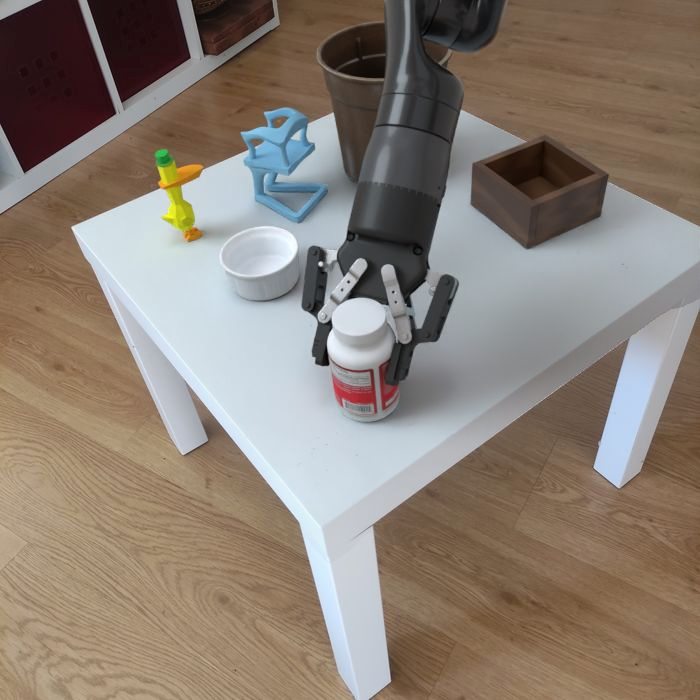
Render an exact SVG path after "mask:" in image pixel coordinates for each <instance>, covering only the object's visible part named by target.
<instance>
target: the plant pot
mask: <svg viewBox="0 0 700 700" xmlns="http://www.w3.org/2000/svg"><path fill="white" fill-rule="evenodd" d="M423 42H424V46H425V49H426V51H427V53H428V54H429V56H430V57H431V58H432V59H433V60H435V61H436V62H437V63H439V64H440V65H442V66H443V67H445V68H446V69H448V64H449V60H450V59H451V57H452V56H453V51H454V50H451V49H448V48H446V47H442V46H439V45H436V44H433V43H430V42H428V41H425V40H423ZM316 59H317V63H318V65H319V66H320V68H321V69H322V73H323V77H324V78H323V79H324V82H325V83H324V84H325V87H326V90H327V92H328V93H329V95H330V96H329V97H330V100H331V107H332V111H333V117H334V122H335V127H336V131H337V138H338V144H339V149H340V154H341V159H342V165H343V170H344V172H345V174H346V176H347V177H348V178H349V179H350V180H352V181H353V182H354V183H357V184H358V181H359V176H360V172H361V168H362V164H363V159H364V156H365V152H366V149H367V146H368V144H369V141H370V139H371V136H372V133H373V129H374V124H375V120H376V116H377V111H378V107H379V103H380V99H381V94H382V90H383V84H384V77H385V61H386V39H385V21H384V20H376V21H367V22H363V23H357V24H354V25H350V26H347V27H345V28H342V29H340V30H338V31H336V32H334V33H332V34H331V35H329V36H327V37H326V38H325V39H324V40H323V41H322V42H321V43H320V45H319V46H318V47H317V49H316Z"/></svg>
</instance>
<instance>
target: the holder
mask: <svg viewBox="0 0 700 700" xmlns="http://www.w3.org/2000/svg"><path fill="white" fill-rule="evenodd" d="M609 177H610V173H608V172H606V171H605V170H603V169H602V168H600V167H598V166H597V165H595V164H593V162H591V161H589V160H587V159H586V158H585V157H582V156H581V155H580V154H578V153H576V152H575V151H573V150H571V149H570V148H568V147H566V146H565V145H563V144H562V143H560V142H559V141H557V140H555V138H553V137H550V136H549V135H548V134H543V135H541V136H539V137H536V138H533V139H531V140H528V141H526V142H523V143H521V144H518V145H515V146H513V147H510V148H508V149H505V150H503V151H499V152H498V153H495V154H493V155H490V156H488V157H485V158H482V159H480V160H477V161H475V162H472V163H471V182H470V183H471V186H470V205H471V206H472V207H473V208H475V209H476V210H477V211H478V212H480V213H481V215H484V216H485V217H486V218H487V219H488V220H490V221H491V222H492V223H493V224H494V225H495V226H497V227H498V228H499V229H501V230H502V231H504V233H505V234H507V235H508V236H509V237H511V238H512V239H513V240H514V241H515V242H516V243H518V244H519V245H520V246H522V248H524V249H526V250H528V249H530V248H533V247H535V246H538V245H539V244H542V243H544V242H546V241H548V240H551V239H553V238H555V237H558V236H559V235H562V234H565V233H567V232H568V231H571V230H573V229H575V228H578V227H579V226H582V225H584V224H586V223H589V222H590V221H593V220H595V219H598V218H601V216H602V211H603V208H604V207H603V206H604V201H605V197H606V191H607V188H608V187H607V186H608V182H609Z"/></svg>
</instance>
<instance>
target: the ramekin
mask: <svg viewBox="0 0 700 700" xmlns="http://www.w3.org/2000/svg"><path fill="white" fill-rule="evenodd" d="M299 247H300V246H299V242H298V239H297V238H296V236H295V234H294V233H292V232H291V231H289V230H287V229H285V228H282V227H279V226H271V225H261V226H255V227H251V228H247V229H244V230H241V231H239V232H237V233H236V234H234V235H233V236H231V237H230V238H228V240H226V242H225V243H224V244H223V245H222V247H221V249H220V252H219V255H218V259H219V263H220V265H221V267H222V269H223V270H224V272H225V274H226V277H227V279H228V282H229V284H230V287H231V289H232V290H233V291H234V292H235V294H236V295H238V296H239V297H241V298H243V299H246V300H250V301H257V302H259V301H260V302H263V301H270V300H273V299H274V300H275V299H277V298H280V297H282V296H284V295H285V294H287V293H288V292H290V291H291V290H292V289H293V288H294V287H295V286H296V284H297V283H298V280H299V276H300V263H299Z"/></svg>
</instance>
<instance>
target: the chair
mask: <svg viewBox="0 0 700 700" xmlns="http://www.w3.org/2000/svg"><path fill="white" fill-rule="evenodd" d="M263 114H264V117H265V119H266V121H267V126H259V127H256V128H254V129H251V130H249V131H241V132H240V136H241V137H242V140H243V141H244V143H245V144H246V146H247V149H248V155H246V156H245V158H244V159H243V164H244V167H247V168H248V169H249V170H250V172H251V175H252V182H253V192H254V201H257V202H260V203H261V204H263V205H265V206H266V207H268V208H269V209H271V210H274V211H275V212H277V213H278V214H280V215H281V216H283V217H285V218H286V219H288V220H290V221H292V222H294V223H301V222H302V221H303V220H304V219H305V217H307V216H308V215H309V213H310V212H311V211H312V210H313V209H314V208H315V207H316V206H317V205H318V204H319V203H320V201H321V200H322V199H323V198H324V197H325V196H326V195H327V193H328V191H329V187H328V184H326V183H321V182H287V181H286V182H285V181H284V182H283V181H276V180H277V178H278V175H284V176H287V177H289V176H290V175H292V173H294V171H296V169H297V168H298V167H299V165H300V164H301V163H302V162H303V161H304V160H305V159H306V158H308V157H309V156H310V155H312V153H314V151H315V150H316V143H315V142H313V141H312V142H311V141H309V140H308V137H307V131H308V126H309V117H308V116H306V115H305V114H303V113H302V112H300V111H299V110H297V109H295V108H291V107H281V108H278V109H274V110H271V111H264V112H263ZM281 117H284V118H285V117H286V118H288V119H286V121H285V122H284V123H283V124H282V125H281V126H280V127H277V128H275V124H274V120H275V119H278V118H281ZM298 132H300V134H299V135H300V136H299V139H293V138H292V137H294V135H296V134H297V133H298ZM251 140H262V141H263V142H261V143H260V145H259V146H257V147H255V145H254V143H253V142H252V141H251ZM266 175H267V176H266ZM265 176H266V178H265ZM265 191H269V192H282V193H283V192H286V193H289V192H290V193H291V192H292V193H293V192H296V193H297V192H298V193H300V192H302V193H303V192H306V193H307V192H308V193H309V192H311V193H312V192H313V193H314V195H312V197H311V198H310V199H309V200H308V201H307V202H306V203H305V204H304V205H303V206H302V207H301V208H300V210H298V211H297V212H295V211H293V210H292V209H290V208H289V207H287V206H286V205H284V204H283V203H282V202H280V201H279V200H277V199H275V198H274V197H272V196H271V195H269V194H267V193H265ZM315 192H316V193H315Z"/></svg>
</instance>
